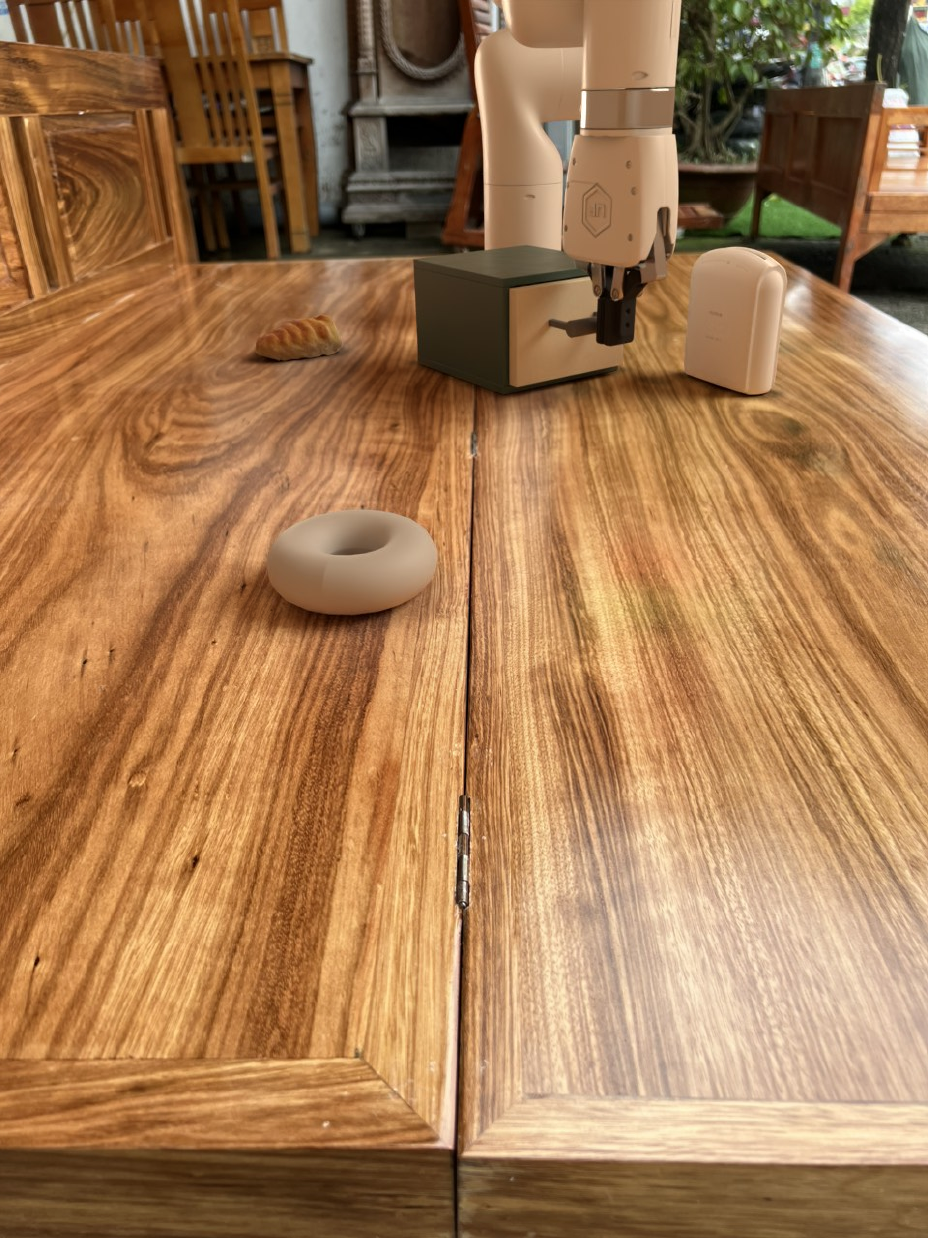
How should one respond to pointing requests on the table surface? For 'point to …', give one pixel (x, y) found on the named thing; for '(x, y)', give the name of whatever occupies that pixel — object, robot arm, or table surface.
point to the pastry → (300, 339)
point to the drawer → (555, 332)
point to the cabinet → (480, 310)
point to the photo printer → (735, 319)
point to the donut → (352, 562)
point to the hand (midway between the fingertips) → (614, 342)
